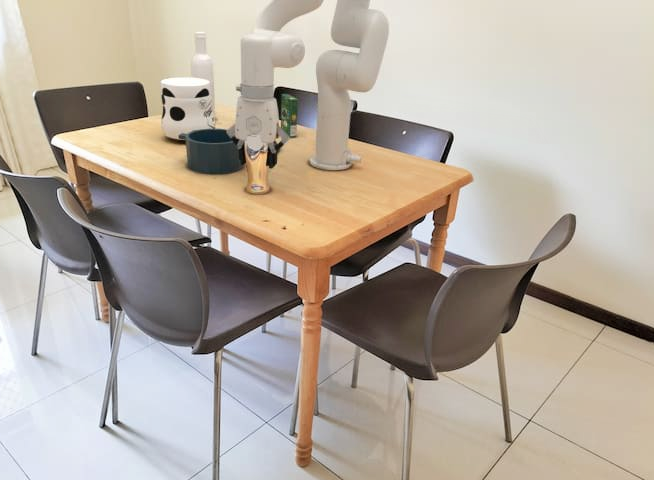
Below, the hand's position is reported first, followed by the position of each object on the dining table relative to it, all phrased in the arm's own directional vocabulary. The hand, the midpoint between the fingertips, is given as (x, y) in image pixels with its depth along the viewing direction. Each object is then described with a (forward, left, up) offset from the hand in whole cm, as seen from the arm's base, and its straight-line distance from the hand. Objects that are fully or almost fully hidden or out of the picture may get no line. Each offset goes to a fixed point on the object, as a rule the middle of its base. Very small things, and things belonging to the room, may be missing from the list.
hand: (258, 164), depth 128 cm
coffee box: (+8, -54, -7) cm, 55 cm away
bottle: (+43, -61, -7) cm, 75 cm away
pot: (+18, -14, -7) cm, 24 cm away
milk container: (+37, -36, -7) cm, 52 cm away
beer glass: (0, 0, -7) cm, 7 cm away
